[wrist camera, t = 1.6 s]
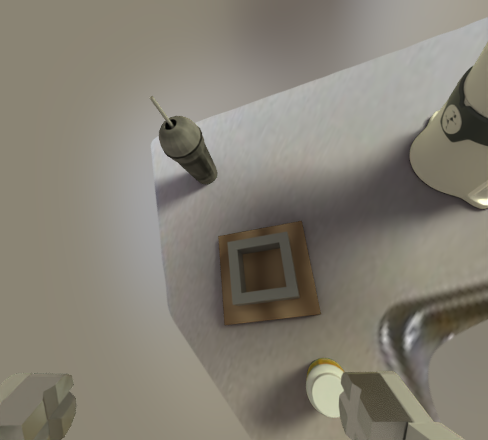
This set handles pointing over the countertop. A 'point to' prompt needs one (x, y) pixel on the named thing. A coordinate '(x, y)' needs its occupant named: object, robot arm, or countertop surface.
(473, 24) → the countertop surface
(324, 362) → the supplement bottle
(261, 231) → the collar socket
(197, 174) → the beverage cup
